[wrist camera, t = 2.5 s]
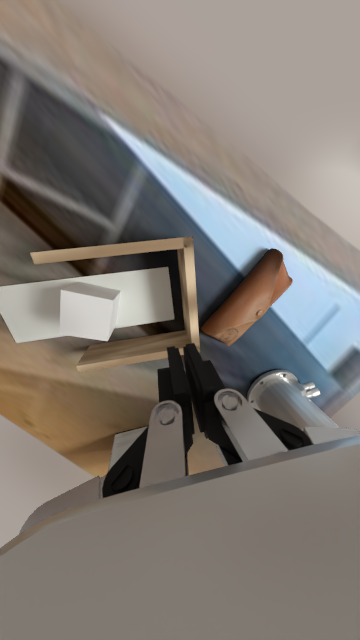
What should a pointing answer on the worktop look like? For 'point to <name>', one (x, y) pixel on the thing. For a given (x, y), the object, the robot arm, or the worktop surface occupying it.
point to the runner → (44, 297)
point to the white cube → (88, 311)
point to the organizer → (147, 345)
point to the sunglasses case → (249, 299)
